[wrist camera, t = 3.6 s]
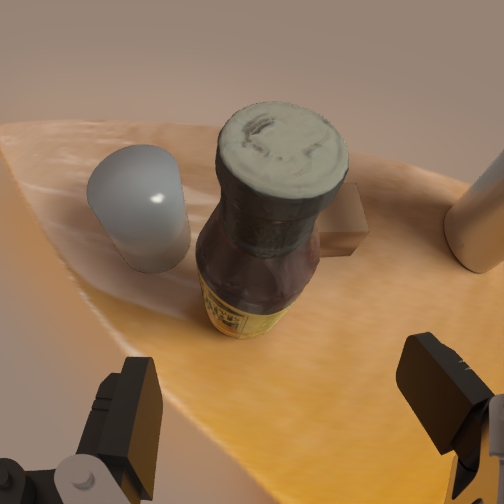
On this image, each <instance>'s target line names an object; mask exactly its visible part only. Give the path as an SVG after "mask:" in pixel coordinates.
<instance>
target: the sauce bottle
mask: <svg viewBox="0 0 504 504" xmlns="http://www.w3.org/2000/svg"><path fill="white" fill-rule="evenodd" d="M348 162H349V155H348V150H347V146H346V143H345V141H344V139H343V138H342V137H341V135H340V134H339V133H338V131H337V130H336V129H335V128H334V126H333V125H332V124H331V123H330V122H329V121H328V120H327V119H325V118H324V117H323V116H321V115H320V114H318V113H316V112H314V111H312V110H310V109H307V108H303V107H300V106H297V105H294V104H291V103H287V102H263V103H256V104H253V105H250V106H248V107H245V108H243V109H242V110H239V111H237V112H236V113H235V114H233V116H232V117H231V118H230V119H229V120H228V121H227V122H226V124H225V125H224V127H223V128H222V130H221V131H220V133H219V136H218V145H217V153H216V160H215V164H216V174H217V177H218V180H219V183H220V186H221V198H220V202H219V203H218V205H217V207H216V208H215V210H214V211H213V213H212V215H211V216H210V218H209V219H208V221H207V223H206V224H205V226H204V227H203V229H202V231H201V232H200V234H199V237H198V239H197V243H196V263H197V269H198V273H199V278H200V284H201V289H202V295H203V298H204V302H205V307H206V311H207V314H208V316H209V318H210V320H211V322H212V323H213V324H214V326H215V327H216V328H217V329H218V330H220V331H221V332H223V333H224V334H225V335H227V336H230V337H233V338H237V339H250V338H256V337H258V336H261V335H263V334H265V333H266V332H268V331H269V330H271V329H272V328H273V326H274V325H275V324H276V323H277V322H278V321H279V319H280V318H281V317H282V316H283V315H284V314H285V312H286V311H287V310H288V309H289V308H290V307H291V305H292V304H293V303H294V302H295V301H296V299H297V298H298V297H299V296H300V294H301V293H302V291H303V289H304V287H305V286H306V285H307V284H308V283H309V281H310V279H311V278H312V276H313V274H314V272H315V270H316V267H317V265H318V263H319V261H320V259H319V256H320V238H319V233H318V229H317V225H316V222H315V221H316V219H317V217H318V215H319V213H320V212H321V211H322V210H324V209H326V208H327V207H328V205H329V204H331V203H332V202H333V200H334V198H335V197H336V195H337V193H338V191H339V189H340V187H341V185H342V183H343V180H344V178H345V176H346V174H347V172H348V169H349V168H348Z"/></svg>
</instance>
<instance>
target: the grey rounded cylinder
mask: <svg viewBox="0 0 504 504" xmlns="http://www.w3.org/2000/svg"><path fill="white" fill-rule="evenodd" d="M87 199H88V203H89V205H90V207H91V209H92V210H93V212H94V213H95V215H96V217H97V218H98V220H99V221H100V223H101V225H102V226H103V228H104V229H105V231H106V232H107V234H108V236H109V237H110V239H111V240H112V242H113V243H114V245H115V246H116V248H117V249H118V251H119V252H120V254H121V255H122V257H123V258H124V260H125V261H126V262H127V263H128V264H129V265H130V266H131V267H132V268H134V269H136V270H138V271H140V272H144V273H159V272H163V271H166V270H168V269H171V268H172V267H174V266H175V265H177V264H178V263H179V262H180V261H181V260H182V259H183V258H184V256H185V255H186V253H187V251H188V249H189V247H190V243H191V231H190V226H189V221H188V216H187V211H186V205H185V200H184V195H183V189H182V184H181V178H180V172H179V167H178V164H177V162H176V160H175V158H174V157H173V156H172V155H171V154H170V153H169V152H167V151H166V150H164V149H162V148H160V147H157V146H153V145H133V146H129V147H125V148H123V149H120V150H118V151H116V152H114V153H112V154H111V155H109V156H108V157H106V158H105V159H104V160H103V161H102V162H101V163H100V164H99V165H98V166H97V167H96V168H95V170H94V171H93V173H92V175H91V177H90V179H89V182H88V186H87Z"/></svg>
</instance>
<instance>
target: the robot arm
mask: <svg viewBox="0 0 504 504" xmlns="http://www.w3.org/2000/svg"><path fill="white" fill-rule="evenodd" d="M444 232H445V236H446V239H447V242H448V244H449V247H450V248H451V250H452V252H453V254H454V255H455V256H456V258H457V259H458V260H459V261H460V262H461V263H462V264H463V265H464V266H465V267H466V268H468V269H469V270H471V271H473V272H476V273H485V272H487V271H489V270H491V269H492V268H494V267H495V266H497V265H498V264H500V263H501V262H503V261H504V150H503V151H502V152H501V153H500V154H499V156H498V157H497V158H496V159H495V160H494V162H493V163H492V164H491V165H490V166H489V167H488V168H487V169H486V171H485V172H484V173H483V174H482V175H481V176H480V177H479V178H478V180H477V181H476V182H475V183H474V184H473V185H472V186H471V187H470V188H469V189H468V190H467V191H466V192H465V194H464V195H463V196H462V197H461V198H460V199H459V200H458V201H457V202H456V203H455V204H454V205H453V206H452V207H451V208H450V209H449V211H448V212H447V213H446V216H445V218H444ZM396 382H397V386H398V388H399V389H400V391H401V393H402V394H403V396H404V397H405V399H406V400H407V402H408V403H409V405H410V406H411V408H412V410H413V411H414V413H415V414H416V416H417V417H418V419H419V421H420V422H421V424H422V425H423V427H424V428H425V430H426V432H427V433H428V435H429V436H430V438H431V440H432V441H433V443H434V445H435V446H436V448H437V449H438V451H439V453H440V454H441V455H443V454H446V453H448V452H450V451H452V450H454V451H455V452H456V455H455V456H454V458H453V461H452V466H451V472H450V478H449V483H448V488H447V493H446V498H445V502H444V504H504V394H499V395H496V396H495V395H494V394H493V392H492V391H491V390H490V389H489V388H488V387H487V386H486V384H485V383H484V382H483V381H482V380H481V379H480V378H479V377H478V376H477V375H476V373H475V372H474V371H473V370H472V369H470V367H469V366H468V365H467V364H466V363H465V362H463V359H462V358H461V357H460V356H459V355H458V354H457V353H456V352H455V351H454V350H452V349H451V348H449V347H447V346H446V345H444V344H441V343H440V341H439V340H438V339H437V338H436V337H435V336H434V335H433V334H432V333H430V332H425V333H420V334H415V335H410V336H408V338H407V339H406V341H405V345H404V348H403V351H402V355H401V358H400V361H399V364H398V367H397V371H396ZM162 412H163V401H162V394H161V389H160V385H159V381H158V377H157V373H156V369H155V364H154V361H153V358H152V357H127V358H126V359H125V362H124V365H123V368H122V371H121V373H111V374H110V375H109V376H108V377H107V378H106V379H105V380H104V381H103V382H102V383H101V384H100V386H99V389H98V392H97V394H96V400H94V402H93V405H92V411H90V414H89V417H88V419H87V422H86V425H85V428H84V431H83V434H82V437H81V440H80V443H79V446H78V449H77V452H76V454H75V455H73V456H70V457H68V458H66V459H64V460H63V461H62V462H61V463H60V464H59V465H58V467H57V468H56V469H52V470H38V471H24V470H23V468H22V467H21V466H20V465H19V464H18V463H17V462H16V461H14V460H11V459H8V458H0V504H140V501H141V500H150V501H152V499H153V489H154V479H155V469H156V461H157V452H158V442H159V435H160V427H161V420H162Z"/></svg>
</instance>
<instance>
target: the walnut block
mask: <svg viewBox="0 0 504 504" xmlns="http://www.w3.org/2000/svg"><path fill="white" fill-rule="evenodd" d="M315 222H316V225H317V229H318V233H319V238H320V256H319V257H336V256H350V255H351V254H352V253H353V252H354V250H355V249H356V248H357V247H358V245H359V244H360V243H361V242H362V240H363V239H364V238H365V237H366V235H367V234H368V233H369V228H368V224H367V220H366V216H365V213H364V209H363V206H362V202H361V199H360V195H359V192H358V188H357V185H356V183H342V185H341V187H340V189H339V191H338V193H337V195H336V197H335V198H334V200H333V202H332V203H331V204H329V205H328V207H327V208H326V209H324V210H322V211H321V212H320V213H319V215H318V217H317V219H316V221H315Z"/></svg>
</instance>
